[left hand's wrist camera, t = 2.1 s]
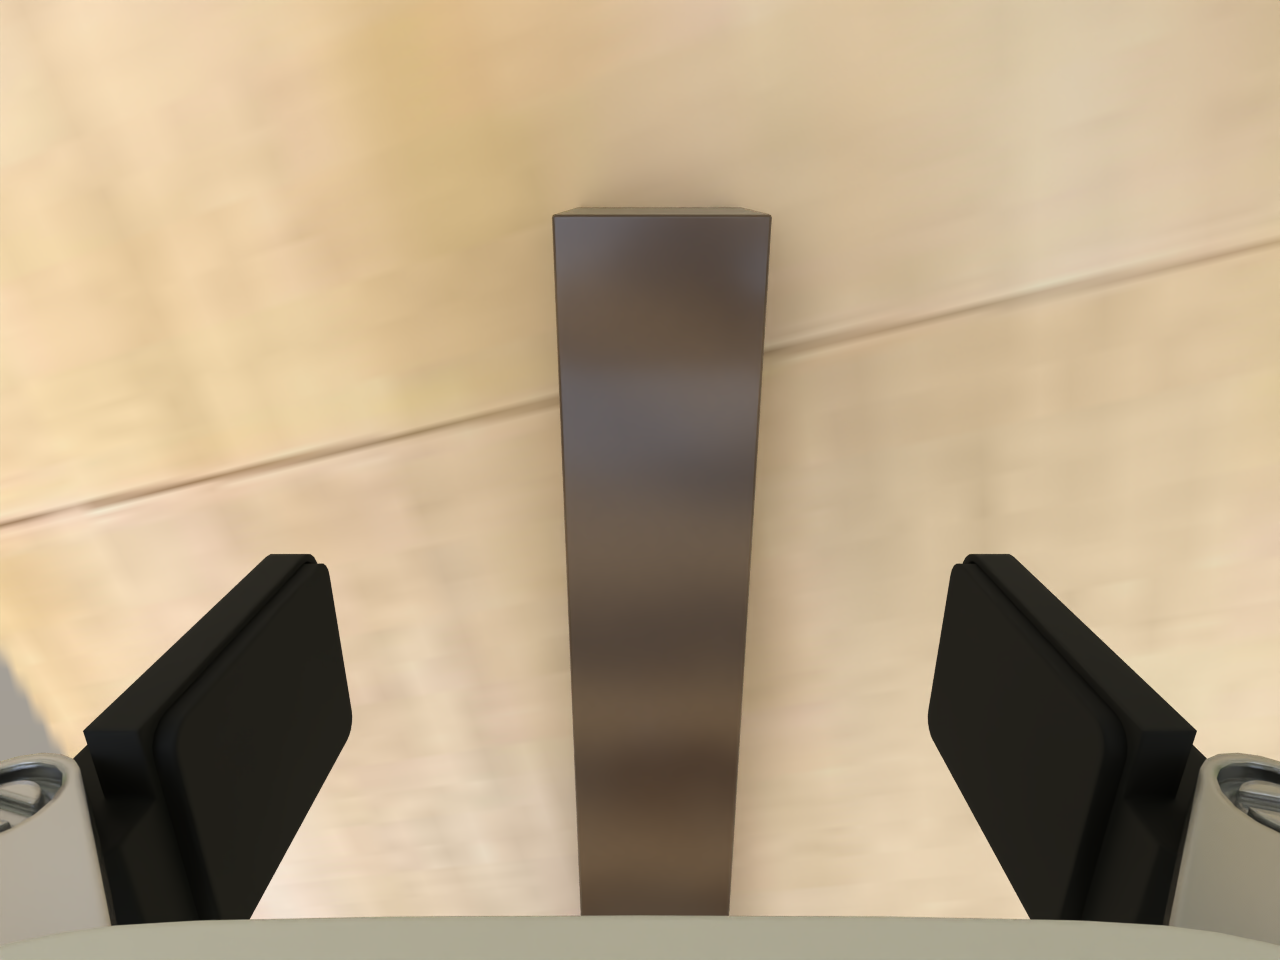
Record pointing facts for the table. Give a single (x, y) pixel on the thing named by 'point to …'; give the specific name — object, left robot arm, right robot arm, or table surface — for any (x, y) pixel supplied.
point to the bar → (658, 539)
